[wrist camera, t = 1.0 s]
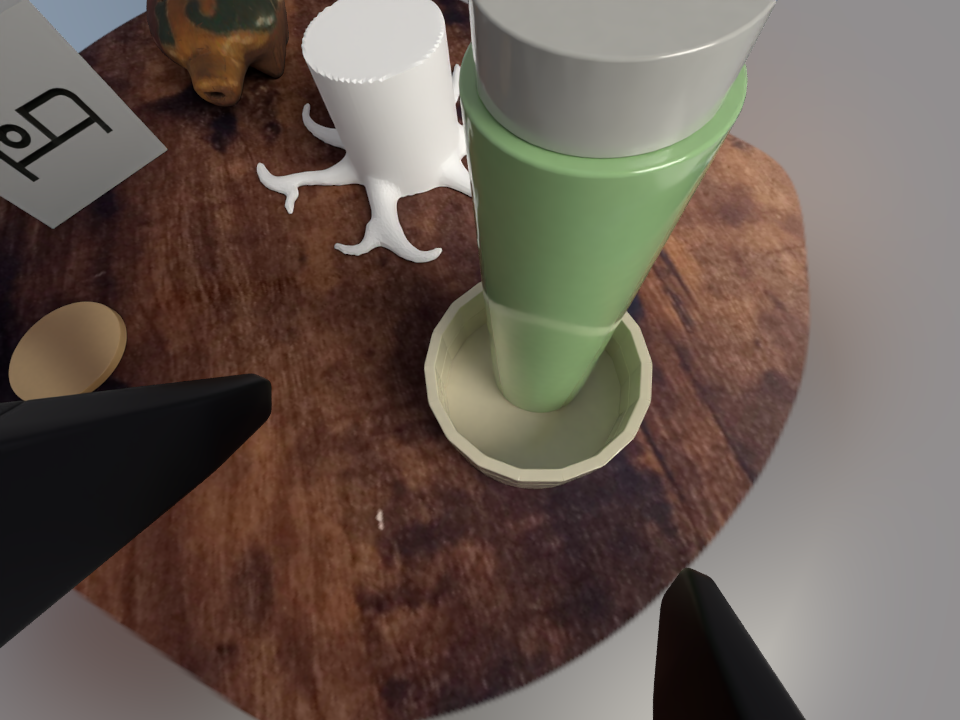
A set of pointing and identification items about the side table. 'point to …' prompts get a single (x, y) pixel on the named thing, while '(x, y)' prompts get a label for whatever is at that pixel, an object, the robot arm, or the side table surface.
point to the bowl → (528, 435)
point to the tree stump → (383, 111)
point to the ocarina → (221, 41)
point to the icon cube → (60, 122)
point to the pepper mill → (587, 163)
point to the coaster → (68, 352)
